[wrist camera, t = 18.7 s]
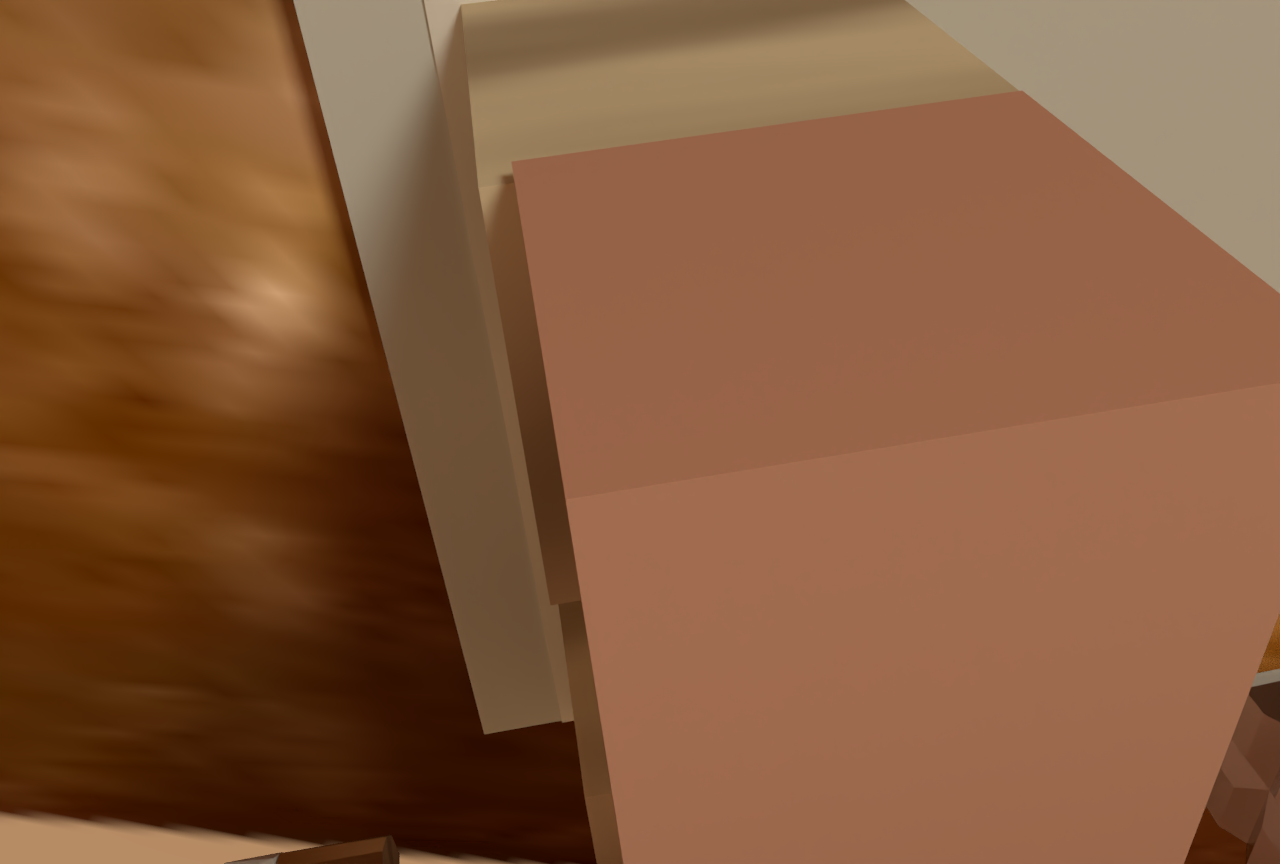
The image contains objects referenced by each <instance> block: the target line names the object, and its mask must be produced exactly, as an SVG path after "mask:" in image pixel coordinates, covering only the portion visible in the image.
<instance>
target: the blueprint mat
mask: <svg viewBox="0 0 1280 864" xmlns="http://www.w3.org/2000/svg"><path fill="white" fill-rule="evenodd" d="M293 1H294V5H295V9H296V13H297V17H298V21H299V24H300V28H301V32H302V36H303V40H304V44H305V47H306V51H307V55H308V59H309V63H310V67H311V71H312V74H313V78H314V82H315V86H316V90H317V94H318V97H319V101H320V105H321V109H322V113H323V117H324V121H325V124H326V128H327V132H328V136H329V140H330V144H331V147H332V151H333V155H334V159H335V163H336V167H337V170H338V174H339V178H340V182H341V186H342V190H343V194H344V197H345V201H346V205H347V209H348V213H349V217H350V220H351V224H352V228H353V232H354V236H355V240H356V244H357V247H358V251H359V255H360V259H361V263H362V267H363V270H364V274H365V278H366V282H367V286H368V290H369V293H370V297H371V301H372V305H373V309H374V313H375V317H376V320H377V324H378V328H379V332H380V336H381V340H382V343H383V347H384V351H385V355H386V359H387V363H388V367H389V370H390V374H391V378H392V382H393V386H394V390H395V393H396V397H397V401H398V405H399V409H400V413H401V416H402V420H403V424H404V428H405V432H406V436H407V440H408V443H409V447H410V451H411V455H412V459H413V463H414V466H415V470H416V474H417V478H418V482H419V486H420V490H421V493H422V497H423V501H424V505H425V509H426V513H427V516H428V520H429V524H430V528H431V532H432V536H433V539H434V543H435V547H436V551H437V555H438V559H439V563H440V566H441V570H442V574H443V578H444V582H445V586H446V589H447V593H448V597H449V601H450V605H451V609H452V613H453V616H454V620H455V624H456V628H457V632H458V636H459V639H460V643H461V647H462V651H463V655H464V659H465V662H466V666H467V670H468V674H469V678H470V682H471V686H472V689H473V693H474V697H475V701H476V705H477V709H478V712H479V716H480V720H481V724H482V728H483V732H484V734H490V733H495V732H501V731H506V730H512V729H518V728H523V727H529V726H534V725H540V724H546V723H551V722H557V721H562V723H564V722H570V721H574V716H573V709H572V701H571V694H570V686H569V679H568V672H567V664H566V657H565V650H564V642H563V635H562V628H561V620H560V613H559V606H558V604H556V605H550V600H549V594H548V589H547V583H546V577H545V571H544V565H543V560H542V554H541V548H540V542H539V536H538V531H537V525H536V519H535V513H534V507H533V502H532V496H531V490H530V484H529V478H528V473H527V467H526V461H525V455H524V449H523V443H522V438H521V432H520V426H519V420H518V414H517V409H516V403H515V397H514V391H513V385H512V380H511V374H510V368H509V362H508V356H507V351H506V345H505V339H504V333H503V327H502V322H501V316H500V310H499V304H498V298H497V293H496V287H495V281H494V275H493V269H492V264H491V258H490V252H489V246H488V240H487V235H486V229H485V223H484V217H483V211H482V206H481V200H480V194H479V188H478V178H477V167H476V157H475V147H474V136H473V126H472V115H471V105H470V94H469V84H468V73H467V63H466V52H465V42H464V32H463V21H462V11H461V4H469V3H478V2H486V1H495V0H293ZM905 1H907V2H908V3H909V4H911V5H912V6H913V7H914V8H916V9H917V10H918V11H919V12H921V13H922V14H923V15H924V16H926V17H927V18H928V19H929V20H931V21H932V22H933V23H934V24H936V25H937V26H938V27H940V28H941V29H942V30H943V31H945V32H946V33H947V34H948V35H950V36H951V37H952V38H953V39H955V40H956V41H957V42H958V43H960V44H961V45H962V46H963V47H965V48H966V49H967V50H969V51H970V52H971V53H972V54H974V55H975V56H976V57H977V58H979V59H980V60H981V61H982V62H984V63H985V64H986V65H987V66H989V67H990V68H991V69H992V70H994V71H995V72H996V73H998V74H999V75H1000V76H1001V77H1003V78H1004V79H1005V80H1006V81H1008V82H1009V83H1010V84H1011V85H1013V86H1014V87H1015V88H1016V89H1018V90H1019V91H1024V92H1025V93H1026V94H1027V95H1029V96H1030V97H1031V98H1032V99H1034V100H1035V101H1036V102H1038V103H1039V104H1040V105H1041V106H1043V107H1044V108H1045V109H1046V110H1048V111H1049V112H1050V113H1051V114H1053V115H1054V116H1055V117H1057V118H1058V119H1059V120H1060V121H1062V122H1063V123H1064V124H1065V125H1067V126H1068V127H1069V128H1071V129H1072V130H1073V131H1074V132H1076V133H1077V134H1078V135H1079V136H1081V137H1082V138H1083V139H1084V140H1086V141H1087V142H1088V143H1090V144H1091V145H1092V146H1093V147H1095V148H1096V149H1097V150H1098V151H1100V152H1101V153H1102V154H1103V155H1105V156H1106V157H1107V158H1109V159H1110V160H1111V161H1112V162H1114V163H1115V164H1116V165H1117V166H1119V167H1120V168H1121V169H1122V170H1124V171H1125V172H1126V173H1128V174H1129V175H1130V176H1131V177H1133V178H1134V179H1135V180H1136V181H1138V182H1139V183H1140V184H1142V185H1143V186H1144V187H1145V188H1147V189H1148V190H1149V191H1150V192H1152V193H1153V194H1154V195H1155V196H1157V197H1158V198H1159V199H1161V200H1162V201H1163V202H1164V203H1166V204H1167V205H1168V206H1169V207H1171V208H1172V209H1173V210H1174V211H1176V212H1177V213H1178V214H1180V215H1181V216H1182V217H1183V218H1185V219H1186V220H1187V221H1188V222H1190V223H1191V224H1192V225H1194V226H1195V227H1196V228H1197V229H1199V230H1200V231H1201V232H1202V233H1204V234H1205V235H1206V236H1207V237H1209V238H1210V239H1211V240H1213V241H1214V242H1215V243H1216V244H1218V245H1219V246H1220V247H1221V248H1223V249H1224V250H1225V251H1226V252H1228V253H1229V254H1230V255H1232V256H1233V257H1234V258H1235V259H1237V260H1238V261H1239V262H1240V263H1242V264H1243V265H1244V266H1245V267H1247V268H1248V269H1249V270H1251V271H1252V272H1253V273H1254V274H1256V275H1257V276H1258V277H1259V278H1261V279H1262V280H1263V281H1265V282H1266V283H1267V284H1268V285H1270V286H1271V287H1272V288H1273V289H1275V290H1276V291H1277V292H1278V293H1280V0H905Z"/></svg>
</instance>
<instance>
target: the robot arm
mask: <svg viewBox="0 0 1280 864" xmlns="http://www.w3.org/2000/svg"><path fill="white" fill-rule="evenodd" d="M1206 807H1207V808H1208V810H1209V812H1210V813H1211V815H1212V816H1213V818H1214V819H1215V821H1216V823H1217V824H1218V826H1219V827H1221V828H1223V829H1224V830H1226V831H1228V832H1229V833H1231V834H1232V835H1234V836H1236V837H1237V838H1239V839H1241V840H1242V841H1244V842H1246V843H1247V848H1246V864H1280V669H1276V670H1271V671H1267V672H1262V673H1257V674H1256V676H1255V678H1254V681H1253V684H1252V686H1251V689H1250V692H1249V694H1248V697H1247V699H1246V702H1245V705H1244V707H1243V710H1242V712H1241V715H1240V718H1239V720H1238V723H1237V726H1236V728H1235V731H1234V733H1233V736H1232V739H1231V741H1230V744H1229V746H1228V749H1227V752H1226V754H1225V757H1224V760H1223V762H1222V765H1221V767H1220V770H1219V773H1218V775H1217V778H1216V780H1215V783H1214V786H1213V788H1212V791H1211V793H1210V796H1209V799H1208V801H1207V804H1206ZM225 864H399V852H398V849H397V847H396V845H395V842H394V840H393V838H392V835H391V834H390V835H384V836H378V837H372V838H367V839H361V840H355V841H349V842H343V843H338V844H332V845H326V846H320V847H314V848H309V849H303V850H297V851H291V852H285V853H282V852H281V853H276V854H270V855H265V856H260V857H255V858H250V859H244V860H238V861H233V862H227V863H225Z"/></svg>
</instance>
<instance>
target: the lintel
mask: <svg viewBox="0 0 1280 864" xmlns="http://www.w3.org/2000/svg"><path fill="white" fill-rule="evenodd" d="M511 163H512V169H513V175H514V182H515V188H516V194H517V201H518V207H519V213H520V219H521V226H522V232H523V238H524V245H525V251H526V257H527V263H528V270H529V276H530V282H531V289H532V295H533V301H534V307H535V314H536V320H537V326H538V333H539V339H540V345H541V351H542V358H543V364H544V370H545V377H546V383H547V389H548V395H549V402H550V408H551V414H552V421H553V427H554V433H555V439H556V446H557V452H558V458H559V465H560V471H561V477H562V483H563V490H564V496H565V502H566V509H567V515H568V521H569V527H570V534H571V540H572V546H573V553H574V559H575V565H576V571H577V578H578V584H579V590H580V597H581V603H582V609H583V615H584V622H585V628H586V634H587V641H588V647H589V653H590V660H591V666H592V672H593V678H594V685H595V691H596V697H597V704H598V710H599V716H600V722H601V729H602V735H603V741H604V748H605V754H606V760H607V766H608V773H609V779H610V785H611V792H612V798H613V804H614V810H615V817H616V823H617V829H618V836H619V842H620V848H621V854H622V861H623V864H1184V861H1185V859H1186V856H1187V854H1188V851H1189V848H1190V846H1191V843H1192V841H1193V838H1194V835H1195V833H1196V830H1197V827H1198V825H1199V822H1200V820H1201V817H1202V814H1203V812H1204V809H1205V807H1206V804H1207V801H1208V799H1209V796H1210V793H1211V791H1212V788H1213V786H1214V783H1215V780H1216V778H1217V775H1218V773H1219V770H1220V767H1221V765H1222V762H1223V760H1224V757H1225V754H1226V752H1227V749H1228V746H1229V744H1230V741H1231V739H1232V736H1233V733H1234V731H1235V728H1236V726H1237V723H1238V720H1239V718H1240V715H1241V712H1242V710H1243V707H1244V705H1245V702H1246V699H1247V697H1248V694H1249V692H1250V689H1251V686H1252V684H1253V681H1254V678H1255V676H1256V673H1257V671H1258V668H1259V665H1260V663H1261V660H1262V658H1263V655H1264V652H1265V650H1266V647H1267V645H1268V642H1269V639H1270V637H1271V634H1272V631H1273V629H1274V626H1275V624H1276V621H1277V618H1278V616H1279V613H1280V293H1278V292H1277V291H1276V290H1275V289H1273V288H1272V287H1271V286H1270V285H1268V284H1267V283H1266V282H1265V281H1263V280H1262V279H1261V278H1259V277H1258V276H1257V275H1256V274H1254V273H1253V272H1252V271H1251V270H1249V269H1248V268H1247V267H1245V266H1244V265H1243V264H1242V263H1240V262H1239V261H1238V260H1237V259H1235V258H1234V257H1233V256H1232V255H1230V254H1229V253H1228V252H1226V251H1225V250H1224V249H1223V248H1221V247H1220V246H1219V245H1218V244H1216V243H1215V242H1214V241H1213V240H1211V239H1210V238H1209V237H1207V236H1206V235H1205V234H1204V233H1202V232H1201V231H1200V230H1199V229H1197V228H1196V227H1195V226H1194V225H1192V224H1191V223H1190V222H1188V221H1187V220H1186V219H1185V218H1183V217H1182V216H1181V215H1180V214H1178V213H1177V212H1176V211H1174V210H1173V209H1172V208H1171V207H1169V206H1168V205H1167V204H1166V203H1164V202H1163V201H1162V200H1161V199H1159V198H1158V197H1157V196H1155V195H1154V194H1153V193H1152V192H1150V191H1149V190H1148V189H1147V188H1145V187H1144V186H1143V185H1142V184H1140V183H1139V182H1138V181H1136V180H1135V179H1134V178H1133V177H1131V176H1130V175H1129V174H1128V173H1126V172H1125V171H1124V170H1122V169H1121V168H1120V167H1119V166H1117V165H1116V164H1115V163H1114V162H1112V161H1111V160H1110V159H1109V158H1107V157H1106V156H1105V155H1103V154H1102V153H1101V152H1100V151H1098V150H1097V149H1096V148H1095V147H1093V146H1092V145H1091V144H1090V143H1088V142H1087V141H1086V140H1084V139H1083V138H1082V137H1081V136H1079V135H1078V134H1077V133H1076V132H1074V131H1073V130H1072V129H1071V128H1069V127H1068V126H1067V125H1065V124H1064V123H1063V122H1062V121H1060V120H1059V119H1058V118H1057V117H1055V116H1054V115H1053V114H1051V113H1050V112H1049V111H1048V110H1046V109H1045V108H1044V107H1043V106H1041V105H1040V104H1039V103H1038V102H1036V101H1035V100H1034V99H1032V98H1031V97H1030V96H1029V95H1027V94H1026V93H1025V92H1024V91H1015V92H1008V93H1000V94H993V95H986V96H979V97H972V98H965V99H957V100H950V101H943V102H936V103H929V104H921V105H914V106H907V107H900V108H893V109H885V110H878V111H871V112H864V113H857V114H850V115H842V116H835V117H828V118H821V119H814V120H806V121H799V122H792V123H785V124H778V125H770V126H763V127H756V128H749V129H742V130H735V131H727V132H720V133H713V134H706V135H699V136H691V137H684V138H677V139H670V140H663V141H656V142H648V143H641V144H634V145H627V146H620V147H612V148H605V149H598V150H591V151H584V152H576V153H569V154H562V155H555V156H548V157H541V158H533V159H526V160H519V161H512V162H511Z"/></svg>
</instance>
